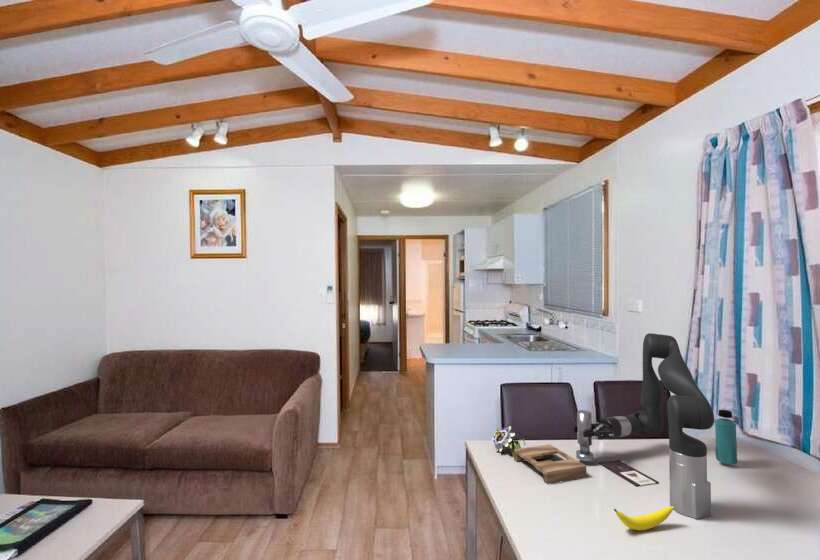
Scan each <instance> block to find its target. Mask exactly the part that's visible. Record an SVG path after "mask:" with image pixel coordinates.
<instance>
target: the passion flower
mask: <svg viewBox="0 0 820 560" xmlns="http://www.w3.org/2000/svg"><path fill="white" fill-rule="evenodd" d="M511 430H512V426H511V425H509V426H508V427H503V428H501V429H500V428H497V429H496V430H495V432H494V433H493V437H491V440H492V441H493V443H494V448H495V449H496V451H495V452H496V453H499V452H500V453H502V452H503V451H504V449H505V448H508V447H509V449H510V451H511V455H512V457H514V449H521V448H522V447H521V443H520V442H519V439H517V440H516V439H515V440H514V438H513V437H515V436H516V433H515V432H512V431H511ZM520 441H523V445H524V446H526V445H527V444H526V440H525V438H522V439H520Z"/></svg>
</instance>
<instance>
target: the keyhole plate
mask: <svg viewBox="0 0 820 560" xmlns="http://www.w3.org/2000/svg"><path fill="white" fill-rule="evenodd" d="M557 454H558V455H559V456H561V457H563V458H564V459H561V460H555V461H553V460H551V459H547V458H553V457H554V455H557ZM513 459H514V460H513V461H515V462H516V463H521V462H527V463H529V464H530V465H532V466H533V467H535V468H536V469H537V470H539V471H540V472H542V474H543V478H542V479H543V480H542V481H544V482H543V483H545V484H546V483H547V485H549V484H548V483H551V484H555V483H554V482H557V483H561V482H560V481H563V482H567V481H566V480H568V481H572V480H571V479H574V480H578V479H577V478H580V479H584V478H583V477H585V478H587V465H586V464H585V463H583V462H581V461H579V460H578V459H577V458H574V457H573V456H571V455H569V454H567V453H566V452H564V451H563V450H560V449H558V448H556V447H555V446H553V445H551V444H544V445H536V446H529V447H521V449H517V448H516V449H514V456H513ZM539 459H540V460H541V459H547V460H542V461H537V460H539Z"/></svg>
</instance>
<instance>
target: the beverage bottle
mask: <svg viewBox="0 0 820 560" xmlns="http://www.w3.org/2000/svg"><path fill="white" fill-rule="evenodd" d="M717 414H718V415H717V416H719V417H720V418H717V419H715V420H714V422H715V424H714V425H715V427H714V428H715V431H714V434H715V442H714V444H715V459H716V460H717V461H718V462H720V463H723V464H726V465H737V463H738V449H737V448H738V444H737V442H738V441H737V423H736V422H735V421H733V420H732V418H733V412H732V410H727V409H719V410H718V413H717Z"/></svg>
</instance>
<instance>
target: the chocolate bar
mask: <svg viewBox="0 0 820 560" xmlns="http://www.w3.org/2000/svg"><path fill="white" fill-rule="evenodd" d="M598 465H600V466H601V465H602V466H601V467H603V468H604V467H605V468H604V469H606V470H608V471H609V470H610V471H609V472H612V473H613V474H615V475H616V476H618V477H619V478H621V479H623V480H625V481H626V482H628V483H629V484H631V485H633V486H635V487H636V488H638V487H639V486H640V487H645V486H652V485H657V484H660V481H658V480H656V479H654V478H653V477H651V476H649V475H647V474H646V473H644V472H642V471H640V470H639V469H636V468H635V467H632V466H631V465H628V464H627V463H625V462H624V461H621V460H620V459H618V460H609V461H599V462H598Z"/></svg>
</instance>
